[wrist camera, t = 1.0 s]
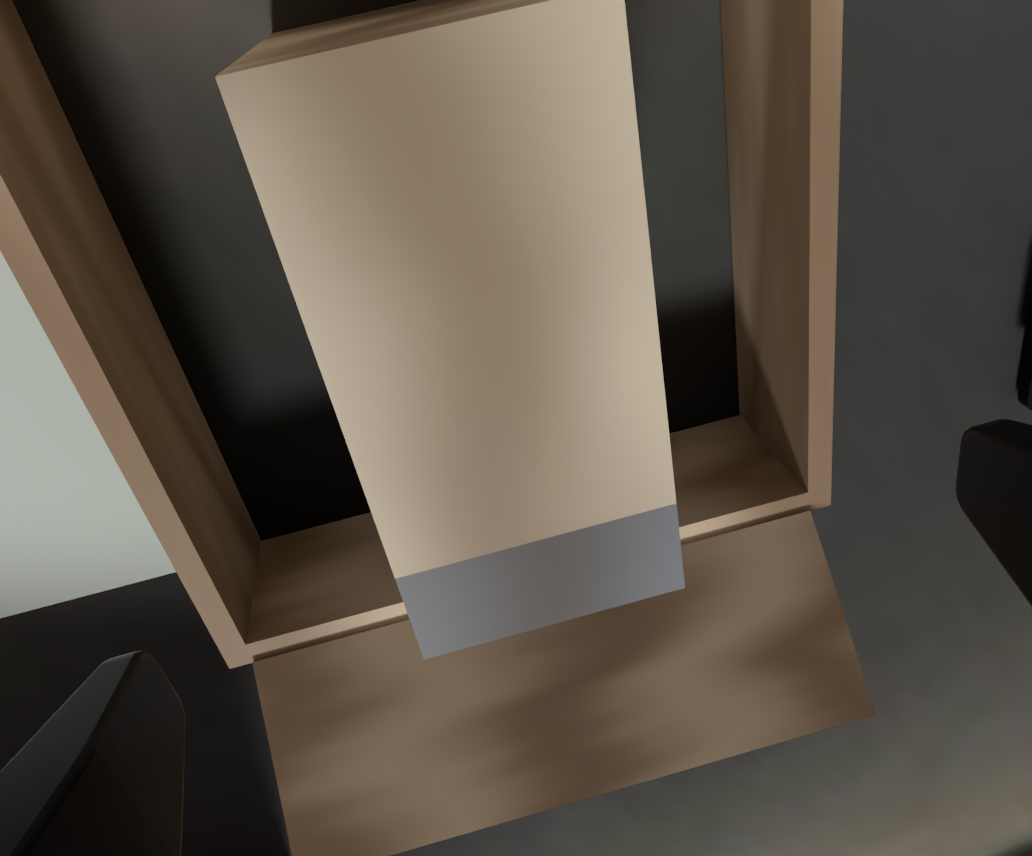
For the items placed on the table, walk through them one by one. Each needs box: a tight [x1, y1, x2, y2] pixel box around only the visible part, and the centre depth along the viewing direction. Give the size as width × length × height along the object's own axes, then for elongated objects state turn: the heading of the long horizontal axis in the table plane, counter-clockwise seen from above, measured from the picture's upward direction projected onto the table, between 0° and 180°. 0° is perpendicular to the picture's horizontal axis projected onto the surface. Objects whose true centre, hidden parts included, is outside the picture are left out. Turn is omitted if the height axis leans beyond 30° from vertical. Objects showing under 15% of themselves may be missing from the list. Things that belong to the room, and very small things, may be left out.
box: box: [215, 0, 685, 660], centre depth 15 cm, size 5×10×8 cm, turn 11°
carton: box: [0, 0, 876, 856], centre depth 16 cm, size 15×23×7 cm, turn 11°
